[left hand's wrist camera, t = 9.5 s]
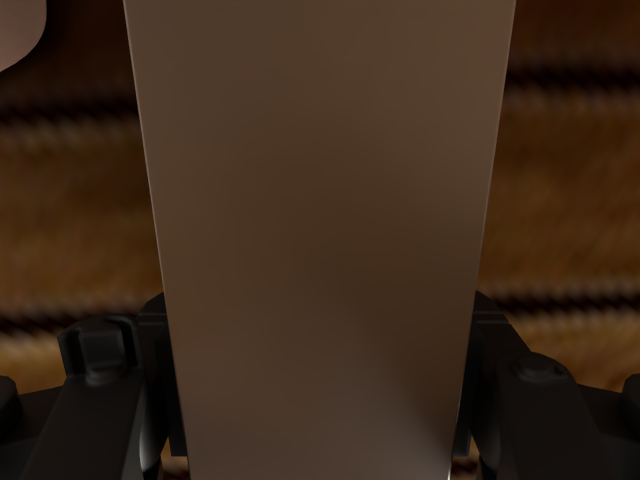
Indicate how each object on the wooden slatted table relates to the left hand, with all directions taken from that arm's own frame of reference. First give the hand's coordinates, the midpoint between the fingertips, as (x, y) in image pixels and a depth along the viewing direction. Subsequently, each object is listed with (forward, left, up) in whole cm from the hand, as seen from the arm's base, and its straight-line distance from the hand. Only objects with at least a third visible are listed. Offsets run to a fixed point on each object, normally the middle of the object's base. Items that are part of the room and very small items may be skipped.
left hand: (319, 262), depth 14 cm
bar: (+3, +27, -1) cm, 27 cm away
